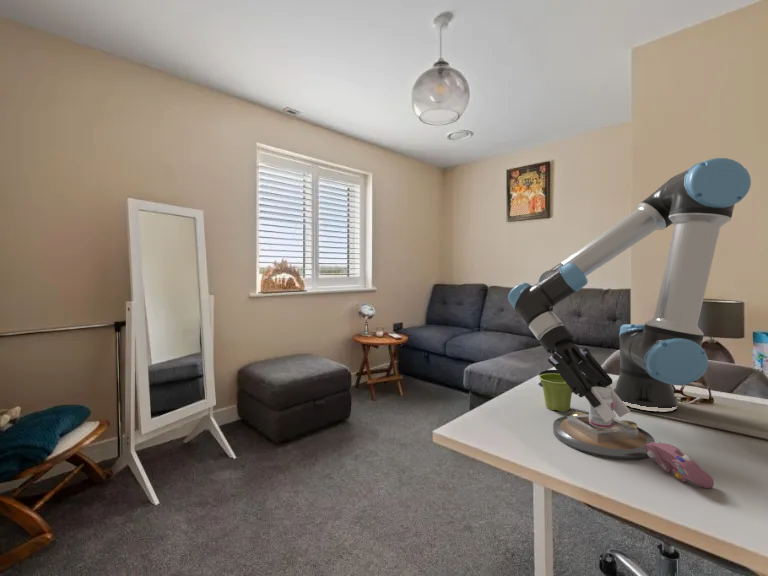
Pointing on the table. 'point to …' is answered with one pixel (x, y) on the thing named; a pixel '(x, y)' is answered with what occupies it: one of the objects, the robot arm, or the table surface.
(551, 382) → the plant pot
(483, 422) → the table surface
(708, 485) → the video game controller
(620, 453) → the carrier disc
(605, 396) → the pill bottle
